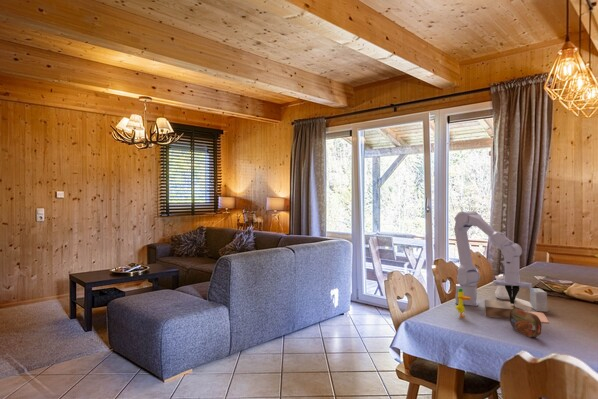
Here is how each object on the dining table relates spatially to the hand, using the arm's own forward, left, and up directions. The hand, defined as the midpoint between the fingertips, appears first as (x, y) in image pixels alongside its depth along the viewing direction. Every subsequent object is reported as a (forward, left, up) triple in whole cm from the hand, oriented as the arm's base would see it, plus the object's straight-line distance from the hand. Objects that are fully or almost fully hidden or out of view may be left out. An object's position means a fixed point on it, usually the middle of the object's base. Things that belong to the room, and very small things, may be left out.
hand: (512, 303), depth 168 cm
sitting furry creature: (-2, +29, -5) cm, 30 cm away
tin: (+2, -23, -5) cm, 24 cm away
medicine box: (+11, +14, -5) cm, 19 cm away
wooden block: (-4, 0, -5) cm, 6 cm away
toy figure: (-20, -11, -5) cm, 23 cm away
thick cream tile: (+4, 0, -1) cm, 4 cm away
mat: (+8, 0, -5) cm, 9 cm away
